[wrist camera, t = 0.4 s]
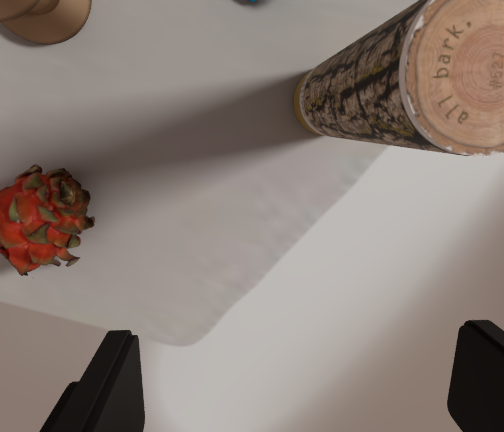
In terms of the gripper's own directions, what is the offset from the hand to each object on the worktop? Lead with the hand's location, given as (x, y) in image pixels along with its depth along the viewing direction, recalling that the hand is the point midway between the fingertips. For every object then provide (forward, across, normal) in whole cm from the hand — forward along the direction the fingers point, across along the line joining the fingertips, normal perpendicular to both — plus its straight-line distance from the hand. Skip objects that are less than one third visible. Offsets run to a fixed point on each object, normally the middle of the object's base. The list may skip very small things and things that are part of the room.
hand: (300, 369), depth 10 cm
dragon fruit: (+30, +20, +3) cm, 37 cm away
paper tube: (+30, -8, -9) cm, 32 cm away
